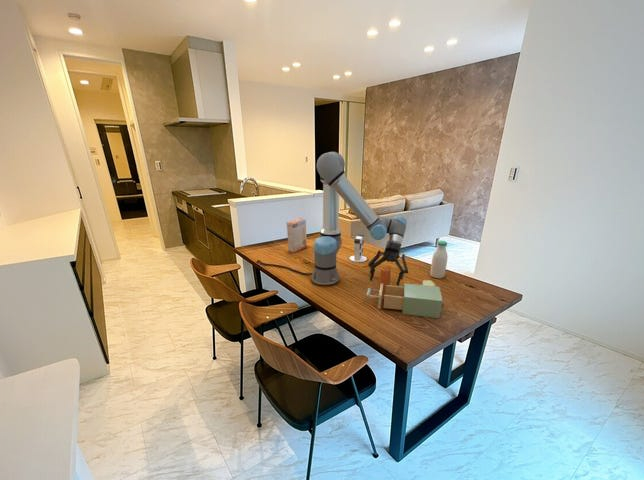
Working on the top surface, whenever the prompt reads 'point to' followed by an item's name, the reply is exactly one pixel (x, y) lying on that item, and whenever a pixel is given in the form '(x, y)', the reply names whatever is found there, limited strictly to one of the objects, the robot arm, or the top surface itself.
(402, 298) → the drawer
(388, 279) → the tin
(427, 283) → the stacked layers on plate
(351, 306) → the top surface
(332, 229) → the robot arm
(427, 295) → the cabinet
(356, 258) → the white post on base
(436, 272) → the milk bottle
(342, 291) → the top surface
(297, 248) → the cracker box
